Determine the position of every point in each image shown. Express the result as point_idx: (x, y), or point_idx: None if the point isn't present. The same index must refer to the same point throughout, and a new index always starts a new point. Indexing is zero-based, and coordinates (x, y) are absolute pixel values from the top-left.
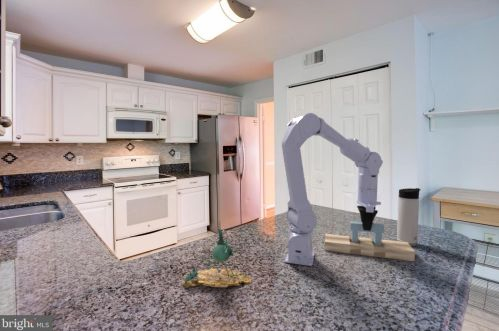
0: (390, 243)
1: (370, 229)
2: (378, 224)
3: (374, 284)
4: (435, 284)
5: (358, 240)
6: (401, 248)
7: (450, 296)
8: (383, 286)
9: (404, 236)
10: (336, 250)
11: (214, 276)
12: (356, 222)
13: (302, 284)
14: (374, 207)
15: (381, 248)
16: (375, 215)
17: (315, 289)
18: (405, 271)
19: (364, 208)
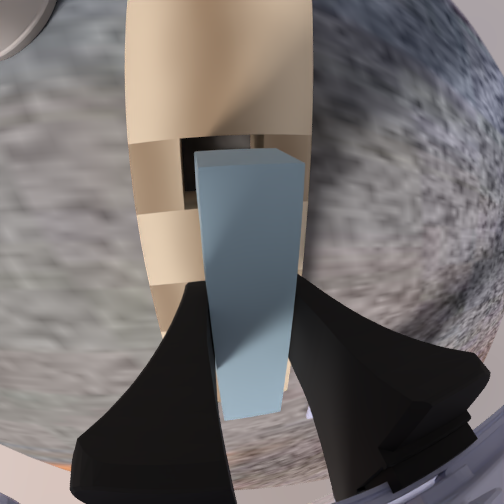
0: (196, 83)
1: (300, 277)
2: (256, 225)
3: (470, 213)
4: (453, 40)
5: (192, 281)
6: (280, 34)
7: (485, 47)
8: (476, 192)
9: (24, 5)
10: None
11: None
12: (246, 393)
13: (450, 337)
14: (231, 490)
15: (310, 158)
16: (440, 348)
17: (465, 316)
18: (405, 86)
19: (358, 491)
